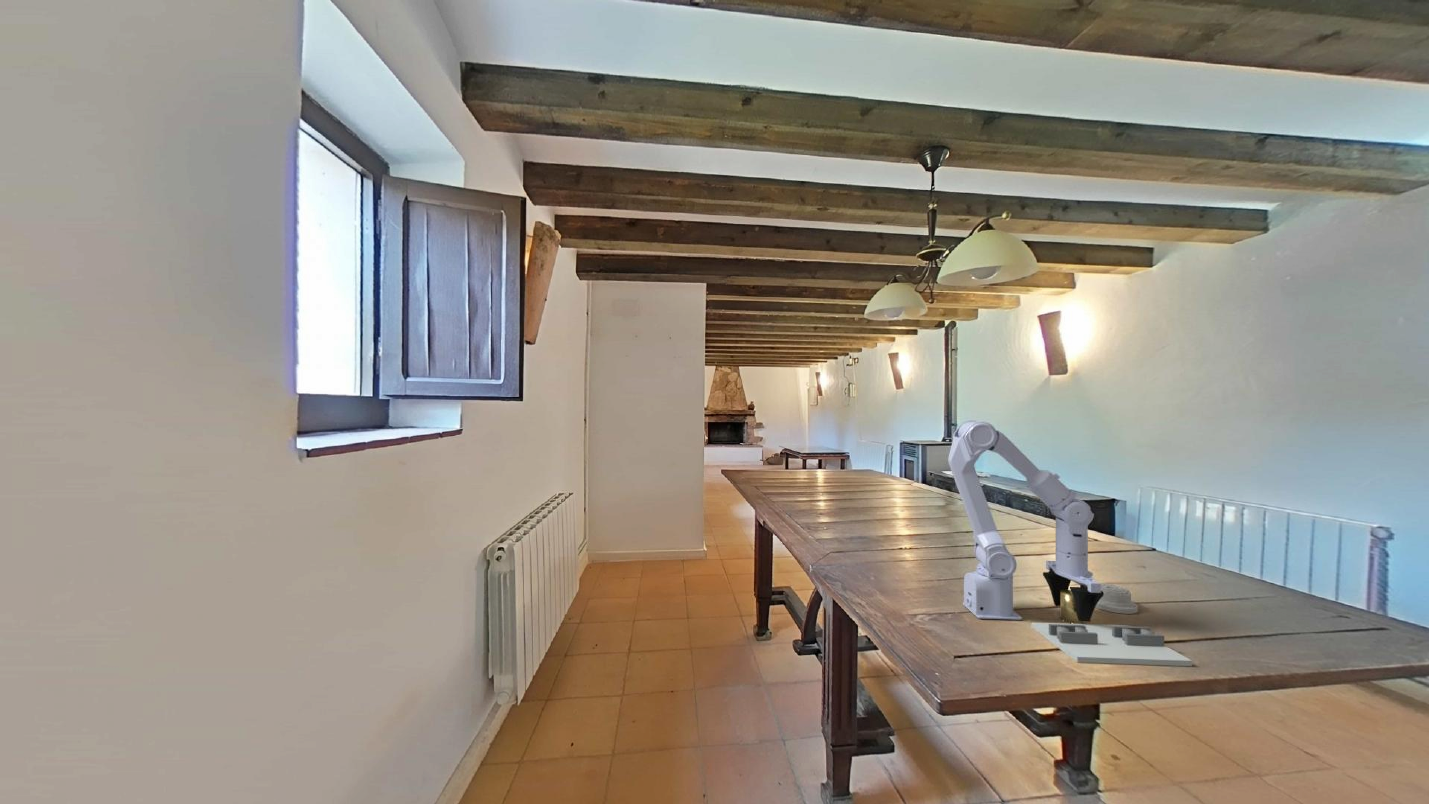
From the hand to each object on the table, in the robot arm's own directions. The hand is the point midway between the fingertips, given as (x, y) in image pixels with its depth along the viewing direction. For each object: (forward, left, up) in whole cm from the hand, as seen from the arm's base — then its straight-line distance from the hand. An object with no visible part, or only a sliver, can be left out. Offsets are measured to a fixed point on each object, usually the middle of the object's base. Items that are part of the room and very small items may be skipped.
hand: (1071, 613), depth 105 cm
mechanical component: (+15, +9, -2) cm, 18 cm away
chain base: (-1, -11, -2) cm, 11 cm away
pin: (0, 0, -2) cm, 2 cm away
